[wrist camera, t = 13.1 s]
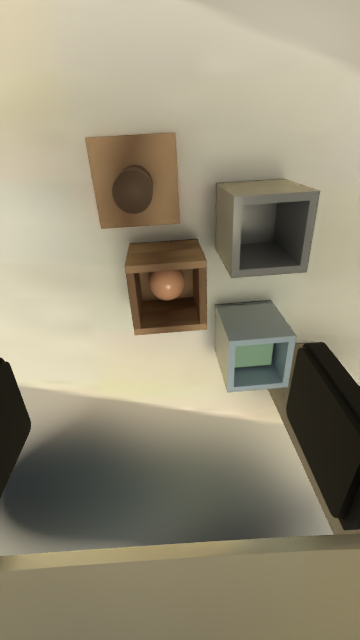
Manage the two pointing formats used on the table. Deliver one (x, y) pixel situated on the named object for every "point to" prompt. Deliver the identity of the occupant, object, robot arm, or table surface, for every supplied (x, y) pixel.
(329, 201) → the table surface
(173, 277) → the terracotta ball
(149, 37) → the table surface
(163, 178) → the lid
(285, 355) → the square blue-grey bin
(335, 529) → the thermos bottle
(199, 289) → the oak box
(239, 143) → the table surface
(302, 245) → the grey open storage bin
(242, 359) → the green cube
